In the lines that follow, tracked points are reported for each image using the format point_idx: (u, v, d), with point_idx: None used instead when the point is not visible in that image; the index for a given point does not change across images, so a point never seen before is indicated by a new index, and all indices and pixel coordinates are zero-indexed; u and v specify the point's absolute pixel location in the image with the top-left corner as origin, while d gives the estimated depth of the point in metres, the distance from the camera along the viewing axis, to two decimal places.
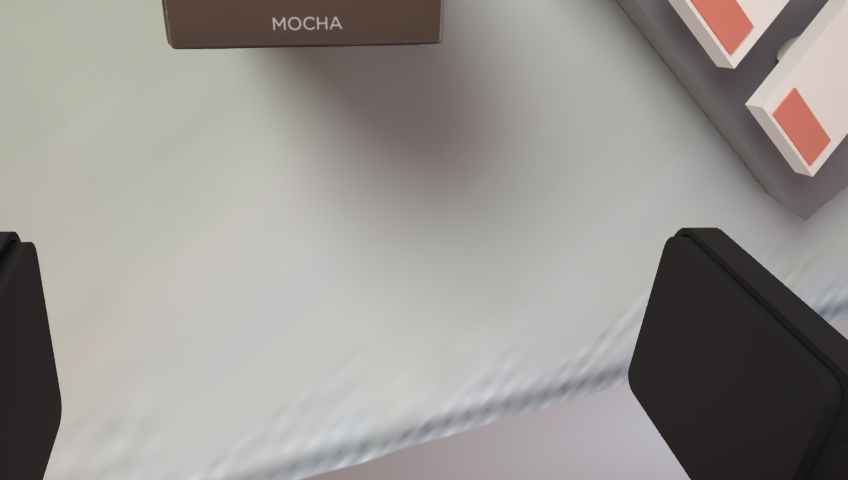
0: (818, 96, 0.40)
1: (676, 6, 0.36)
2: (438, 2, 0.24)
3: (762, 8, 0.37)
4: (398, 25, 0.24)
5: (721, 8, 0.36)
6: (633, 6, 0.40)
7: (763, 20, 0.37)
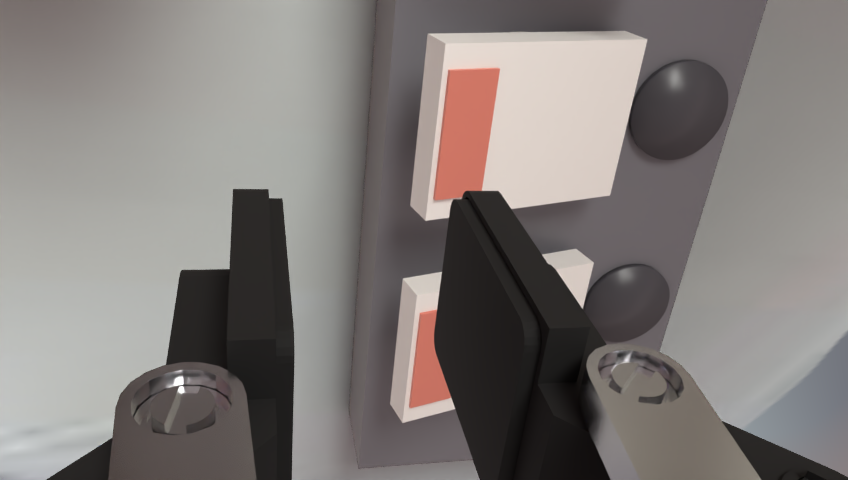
0: None
1: (426, 87, 0.24)
2: None
3: (504, 185, 0.26)
4: None
5: (468, 136, 0.24)
6: (383, 65, 0.27)
7: None
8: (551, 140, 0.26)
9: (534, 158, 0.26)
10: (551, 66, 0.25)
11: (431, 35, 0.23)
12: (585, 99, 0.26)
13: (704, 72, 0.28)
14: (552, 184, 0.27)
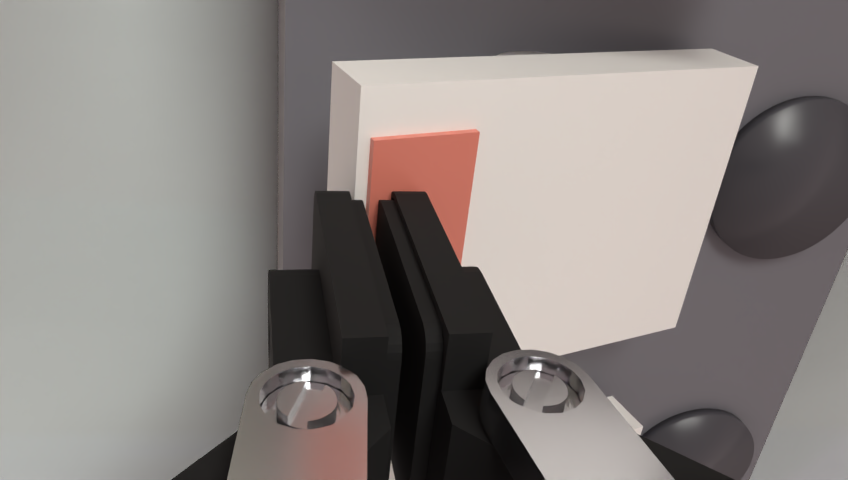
0: None
1: (334, 166, 0.12)
2: None
3: None
4: None
5: None
6: (281, 108, 0.16)
7: None
8: (578, 251, 0.14)
9: (547, 283, 0.14)
10: (581, 122, 0.13)
11: (338, 65, 0.11)
12: (642, 177, 0.14)
13: (840, 118, 0.16)
14: (578, 322, 0.15)
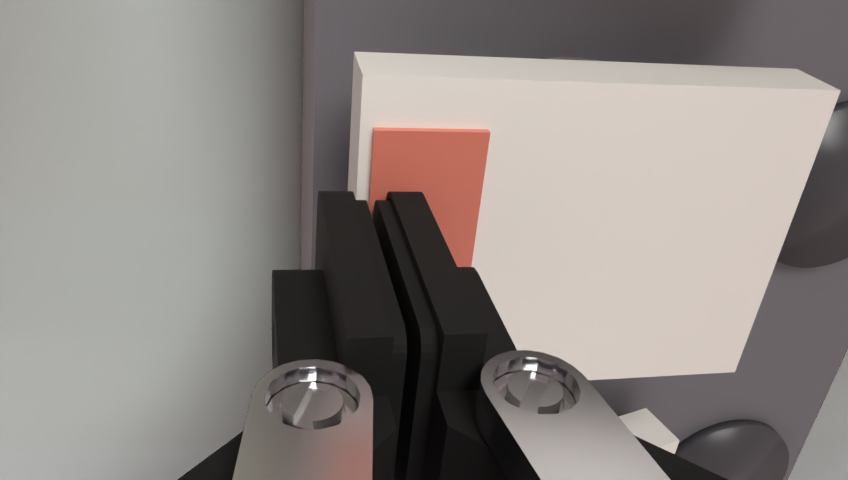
0: None
1: (351, 154, 0.12)
2: None
3: None
4: None
5: None
6: (308, 116, 0.15)
7: None
8: (611, 271, 0.13)
9: (574, 301, 0.14)
10: (612, 133, 0.12)
11: (356, 56, 0.12)
12: (689, 200, 0.13)
13: None
14: (612, 347, 0.14)
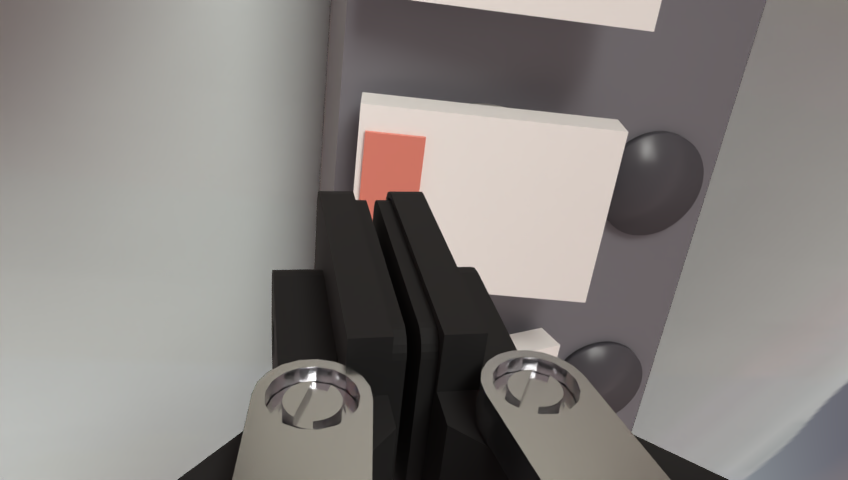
0: None
1: None
2: None
3: None
4: None
5: None
6: (331, 134, 0.25)
7: None
8: (499, 225, 0.24)
9: (478, 241, 0.24)
10: (494, 144, 0.22)
11: (362, 94, 0.23)
12: (543, 187, 0.23)
13: (678, 145, 0.26)
14: (503, 274, 0.24)
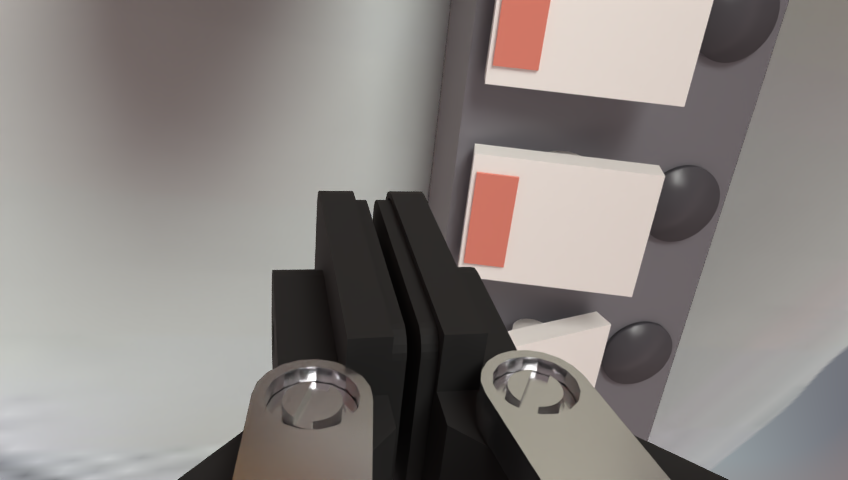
0: None
1: None
2: None
3: (525, 265, 0.34)
4: None
5: (491, 222, 0.33)
6: (445, 172, 0.35)
7: (517, 274, 0.34)
8: (569, 239, 0.33)
9: (554, 250, 0.33)
10: (567, 183, 0.32)
11: (475, 145, 0.32)
12: (602, 213, 0.32)
13: (700, 175, 0.36)
14: (571, 274, 0.34)
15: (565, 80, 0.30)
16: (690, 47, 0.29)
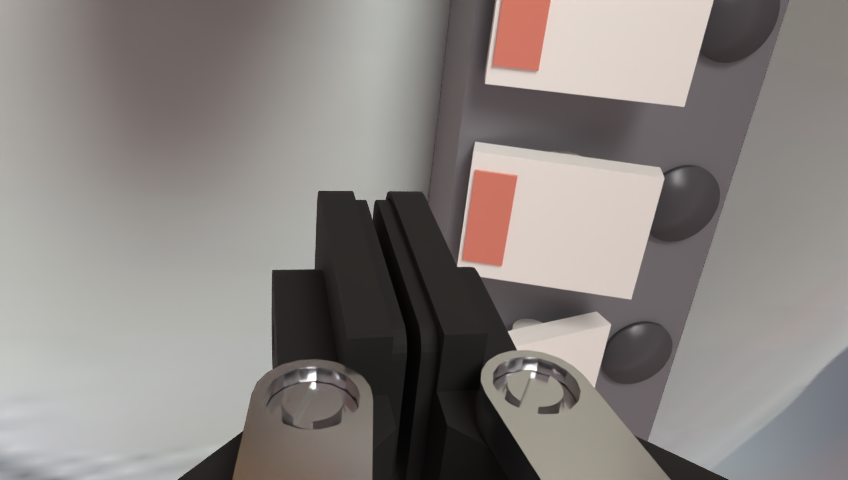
0: None
1: None
2: None
3: (524, 264, 0.34)
4: None
5: (490, 220, 0.33)
6: (445, 172, 0.35)
7: (516, 273, 0.34)
8: (568, 239, 0.33)
9: (552, 250, 0.33)
10: (566, 183, 0.32)
11: (475, 143, 0.32)
12: (601, 214, 0.32)
13: (700, 175, 0.36)
14: (570, 275, 0.34)
15: (565, 80, 0.30)
16: (690, 47, 0.29)
